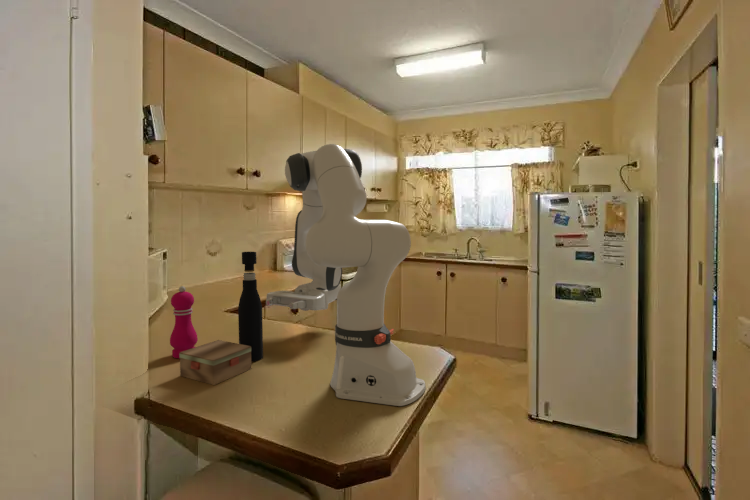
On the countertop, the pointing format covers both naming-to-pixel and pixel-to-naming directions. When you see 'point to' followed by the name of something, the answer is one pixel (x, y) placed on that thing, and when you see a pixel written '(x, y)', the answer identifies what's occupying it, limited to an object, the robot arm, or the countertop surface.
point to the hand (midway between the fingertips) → (279, 304)
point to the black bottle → (250, 310)
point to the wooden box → (215, 361)
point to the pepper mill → (182, 323)
